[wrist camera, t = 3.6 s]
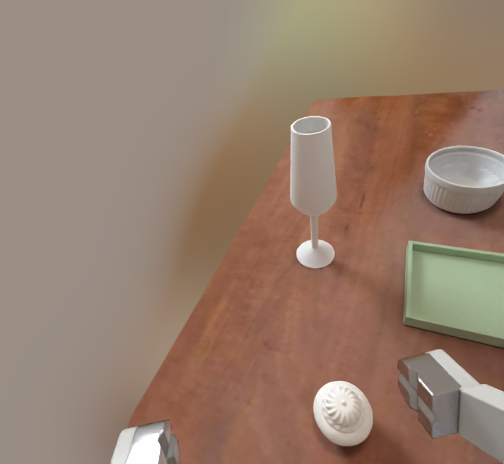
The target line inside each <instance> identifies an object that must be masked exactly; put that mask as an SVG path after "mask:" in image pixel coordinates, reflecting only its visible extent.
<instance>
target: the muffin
mask: <svg viewBox="0 0 504 464" xmlns="http://www.w3.org/2000/svg"><path fill="white" fill-rule="evenodd" d="M314 416H315V420H316V422H317V424H318V426H319V428H320V430H321V431H322V433H323V434H324V435H325V436H326V437H327V438H328V439H329V440H330V441H331V442H333V443H335V444H337V445H341V446H354V445H357V444H359V443H361V442H363V441H364V440H365V439H366V438H367V437H368V435H369V434H370V431H371V429H372V425H373V414H372V409H371V406H370V404H369V402H368V400H367V398H366V397H365V395H364V394H363V393H362V392H361V391H360V390H359V389H358V388H357V387H356V386H354V385H353V384H351V383H348V382H345V381H334V382H330V383H328V384H326V385H324V386H323V387H322V388H321V389H320V390H319V391H318V393H317V395H316V397H315V400H314Z"/></svg>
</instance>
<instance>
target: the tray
mask: <svg viewBox="0 0 504 464" xmlns="http://www.w3.org/2000/svg"><path fill="white" fill-rule="evenodd" d="M403 324H404V325H408V326H413V327H417V328H421V329H425V330H430V331H434V332H438V333H442V334H447V335H451V336H455V337H459V338H464V339H468V340H472V341H476V342H481V343H485V344H489V345H493V346H498V347H502V348H504V254H502V253H495V252H488V251H481V250H473V249H466V248H459V247H451V246H444V245H437V244H430V243H422V242H415V241H409V242H408V245H407V249H406V269H405V291H404V313H403Z"/></svg>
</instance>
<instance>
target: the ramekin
mask: <svg viewBox="0 0 504 464" xmlns="http://www.w3.org/2000/svg"><path fill="white" fill-rule="evenodd" d="M503 192H504V155H503V154H500V153H498V152H496V151H493V150H490V149H486V148H481V147H474V146H453V147H447V148H443V149H440V150H438V151H435V152H434V153H432V154H431V155H430V156H429V157H428V159H427V161H426V164H425V179H424V193H425V195H426V197H427V198H428V199H429V201H430V202H431V203H432V204H434V205H435V206H437V207H439V208H441V209H443V210H446V211H449V212H453V213H460V214H470V213H477V212H480V211H483V210H486V209H488V208H489V207H491V206H492V205H493V204H495V203H496V201H497V200H498V199H499V198H500V196H501V195H502V193H503Z"/></svg>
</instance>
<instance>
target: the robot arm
mask: <svg viewBox="0 0 504 464" xmlns="http://www.w3.org/2000/svg"><path fill="white" fill-rule="evenodd" d="M397 368H398V370H399V371H400V372H401V374H400V376H399V377H398V386H399V389H400V392H401V394H402V396H403V398H404V400H405V402H406V403H407V404H408V406H409V407H410V408H411V409H413V410H415V411H417V412H418V420H419V421H420V423H421V424H422V425H423V427H424V428H425V430H426V431H427V432H428V434H429V435H430V436H431V438H432V439H434V438H438V437H443V436H447V435H451V434H455V433H458V435H460V436H461V437H463V438H464V439H466V440H467V441H469V442H470V443H472V444H473V445H475V446H476V447H478V448H480V449H481V450H483V451H484V452H486V453H487V454H489V455H490V456H492V457H493V458H495V459H496V460H498V461H499V462H501V463H502V464H504V392H503V391H501V390H498V389H496V388H493V387H491V386H489V385H486V384H483V385H480V384H479V383H478V382H477V381H476V380H475V379H474V378H473V377H471V376H470V375H469V374H468V373H467V372H466V371H465V370H464V369H463V368H462V367H461V366H460V365H458V364H457V363H456V362H455V361H454V360H453V359H452V358H451V357H450V356H449V355H448V354H447V353H445V352H444V351H443V350H441V349H437V350H434V351H430V352H426V353H421V354H418V355H414V356H410V357H407V358H403V359H399V360H398V362H397ZM171 432H172V425H171V423H170V420H163V421H159V422H154V423H150V424H145V425H141V426H137V427H133V428H129V429H125V430H123V431H122V432H121V434H120V436H119V438H118V442H117V444H116V447H115V451H114V454H113V457H112V460H111V463H110V464H179V463H180V449H179V444H178V440H177V437H176V436H175V435H174V434H172V433H171Z"/></svg>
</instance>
